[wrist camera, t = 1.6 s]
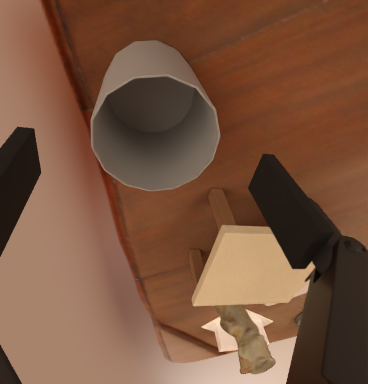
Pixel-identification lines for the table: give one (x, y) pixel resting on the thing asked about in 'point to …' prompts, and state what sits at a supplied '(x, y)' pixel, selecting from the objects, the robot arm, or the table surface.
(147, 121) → the cup
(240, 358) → the sculpture
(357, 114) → the table surface
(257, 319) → the napkin holder
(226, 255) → the side table
